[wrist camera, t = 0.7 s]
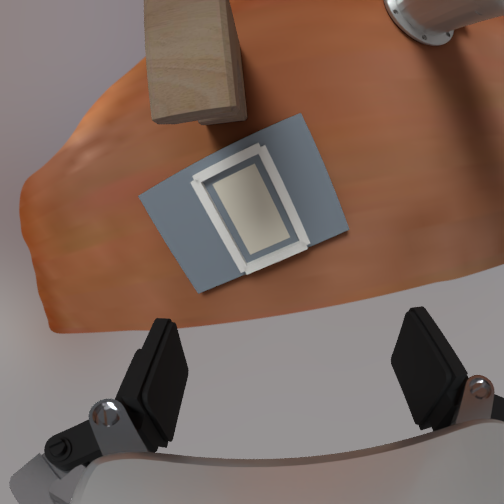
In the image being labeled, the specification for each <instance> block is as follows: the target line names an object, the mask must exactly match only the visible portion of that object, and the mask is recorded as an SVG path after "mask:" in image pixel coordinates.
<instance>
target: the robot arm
mask: <svg viewBox="0 0 504 504" xmlns="http://www.w3.org/2000/svg"><path fill="white" fill-rule="evenodd" d="M384 4H385V6H386V9H387V11H388V13H389V15H390V16H391V18H392V19H393V21H394V22H395V23H396V24H397V25H398V26H399V28H400V29H401V30H403V31H404V32H405V33H406V34H407V35H409V36H410V37H411V38H413V39H415V40H416V41H418V42H420V43H423V44H426V45H431V46H439V45H442V44H445V43H447V42H448V41H449V40H450V39H451V38H452V36H453V33H454V30H455V29H458V28H461V27H464V26H467V25H470V24H474V23H477V22H481V21H484V20H488V19H491V18H495V17H499V16H503V15H504V0H384ZM391 364H392V367H393V369H394V372H395V374H396V376H397V379H398V381H399V384H400V386H401V388H402V391H403V393H404V396H405V398H406V401H407V403H408V406H409V409H410V411H411V414H412V417H413V419H414V422H415V424H417V425H419V427H420V430H423V429H427V428H430V427H432V429H433V432H430V433H427V434H423V435H420V436H416V437H413V438H409V439H406V440H402V441H398V442H394V443H390V444H385V445H382V446H376V447H372V448H367V449H361V450H356V451H350V452H344V453H337V454H329V455H322V456H312V457H300V458H284V459H222V458H205V457H204V458H203V457H192V456H182V455H173V454H162V453H155V452H156V451H157V449H158V446H159V447H165V448H167V445H168V441H170V442H171V441H172V440H173V436H174V432H175V427H176V423H177V419H178V415H179V410H180V406H181V402H182V398H183V394H184V390H185V386H186V382H187V378H188V366H187V363H186V359H185V356H184V352H183V349H182V345H181V341H180V338H179V334H178V330H177V326H176V323H174V322H172V321H171V319H163V318H157V319H155V321H154V323H153V325H152V327H151V329H150V332H149V334H148V336H147V338H146V340H145V343H144V345H143V347H142V349H138V350H137V351H136V353H135V355H134V357H133V359H132V361H131V364H130V366H129V368H128V371H127V372H126V375H125V377H124V379H123V382H122V384H121V386H120V389H119V391H118V393H117V396H116V398H115V400H114V399H104V400H100V401H99V402H97V403H95V404H94V406H92V408H91V410H90V411H89V420H87V421H85V422H83V423H81V424H78V425H77V426H74V427H72V428H70V429H68V430H65V431H63V432H61V433H58V434H56V435H54V436H52V437H51V438H50V439H49V440H48V441H47V442H46V445H45V449H44V451H45V453H44V454H43V455H41V454H40V453H39V454H38V455H37V456H35V457H34V458H33V459H32V460H30V461H29V462H28V463H27V464H26V465H24V466H23V467H22V468H21V469H20V470H18V471H17V472H16V473H15V474H13V476H12V477H11V479H10V489H11V491H12V493H13V495H14V497H15V498H16V500H17V501H18V502H19V504H504V398H502V397H500V396H498V395H495V394H494V387H493V384H492V383H491V381H490V380H489V379H487V378H486V377H484V376H481V375H474V376H472V377H470V378H468V376H467V371H466V370H465V368H464V366H463V365H462V363H461V361H460V360H459V358H458V357H457V355H456V353H455V352H454V350H453V349H452V347H451V346H450V344H449V343H448V341H447V339H446V338H445V336H444V335H443V333H442V332H441V331H440V329H439V328H438V326H437V325H436V323H435V322H434V320H433V319H432V317H431V316H430V315H429V313H428V312H427V310H426V309H425V308H424V307H414V308H410V310H409V312H407V313H406V314H405V318H404V321H403V324H402V327H401V330H400V334H399V337H398V340H397V343H396V345H395V348H394V351H393V354H392V357H391ZM71 498H72V500H71ZM70 501H71V503H70Z"/></svg>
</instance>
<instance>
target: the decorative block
mask: <svg viewBox="0 0 504 504" xmlns="http://www.w3.org/2000/svg"><path fill="white" fill-rule="evenodd" d="M144 27H145V50H146V65H147V77H148V88H149V98H150V107H151V116H152V120H153V121H154V122H155V123H157V124H179V123H184V122H190V121H196V120H198V122H199V123H200V124H201V125H212V124H220V123H228V122H236V121H245V120H246V119H247V108H246V99H245V89H244V80H243V70H242V61H241V52H240V44H239V40H238V35H237V31H236V27H235V23H234V19H233V14H232V10H231V6H230V2H229V0H144Z"/></svg>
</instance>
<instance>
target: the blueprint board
mask: <svg viewBox="0 0 504 504" xmlns="http://www.w3.org/2000/svg"><path fill="white" fill-rule="evenodd" d="M138 197H139V198H140V200H141V202H142V204H143V205H144V207H145V209H146V210H147V212H148V214H149V216H150V217H151V219H152V221H153V222H154V224H155V226H156V227H157V229H158V231H159V232H160V234H161V236H162V237H163V239H164V241H165V242H166V244H167V245H168V247H169V249H170V250H171V252H172V253H173V255H174V257H175V258H176V260H177V261H178V263H179V265H180V266H181V268H182V269H183V271H184V272H185V274H186V275H187V277H188V279H189V280H190V282H191V283H192V285H193V286H194V288H195V289H196V291H197V292H198V294H199V293H201V292H204V291H206V290H208V289H211V288H213V287H216V286H218V285H221V284H223V283H225V282H228V281H230V280H233V279H235V278H237V277H240V276H242V275H245V274H247V275H248V274H250V273H252V272H255V271H257V270H260V269H262V268H264V267H267V266H269V265H271V264H274V263H276V262H279V261H281V260H283V259H286V258H288V257H290V256H293V255H295V254H297V253H300V252H302V251H304V250H307V249H308V247H311V246H313V245H315V244H317V243H320V242H322V241H324V240H327V239H329V238H331V237H334V236H336V235H338V234H340V233H343V232H345V231H347V230H349V227H348V224H347V222H346V219H345V216H344V213H343V211H342V208H341V205H340V203H339V200H338V198H337V195H336V192H335V190H334V187H333V185H332V182H331V180H330V177H329V175H328V173H327V170H326V168H325V165H324V163H323V161H322V158H321V156H320V154H319V151H318V149H317V147H316V145H315V142H314V140H313V138H312V136H311V134H310V131H309V129H308V127H307V125H306V123H305V121H304V119H303V117H302V114H301V113H299V114H297V115H294V116H292V117H290V118H287V119H285V120H283V121H280V122H278V123H276V124H273V125H271V126H269V127H267V128H264V129H262V130H260V131H258V132H256V133H254V134H251V135H249V136H247V137H245V138H243V139H241V140H239V141H237V142H235V143H233V144H231V145H229V146H227V147H225V148H223V149H221V150H219V151H217V152H215V153H213V154H211V155H209V156H207V157H205V158H203V159H202V160H200V161H198V162H196V163H194V164H192V165H190V166H189V167H187V168H185V169H183V170H181V171H180V172H178V173H176V174H174V175H173V176H171V177H169V178H167V179H166V180H164V181H162V182H161V183H159V184H157V185H156V186H154V187H152V188H151V189H149V190H147V191H146V192H144V193H142V194H141V195H139V196H138Z"/></svg>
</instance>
